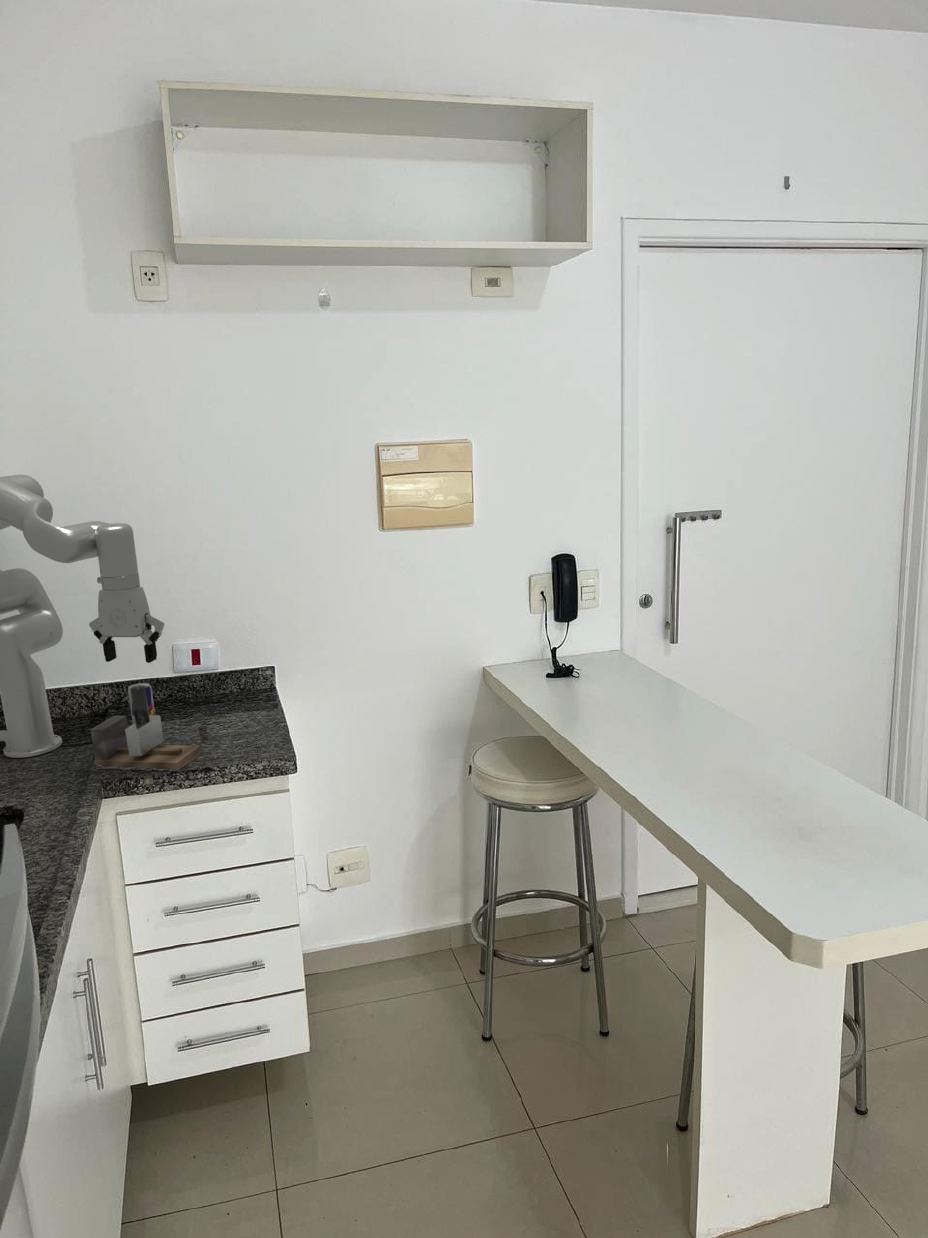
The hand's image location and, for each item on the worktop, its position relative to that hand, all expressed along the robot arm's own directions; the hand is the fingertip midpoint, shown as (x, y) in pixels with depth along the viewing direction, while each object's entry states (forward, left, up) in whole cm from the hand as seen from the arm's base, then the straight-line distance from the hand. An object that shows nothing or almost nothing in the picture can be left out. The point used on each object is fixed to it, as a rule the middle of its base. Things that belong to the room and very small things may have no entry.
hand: (131, 660), depth 202 cm
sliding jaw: (+1, 0, -20) cm, 20 cm away
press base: (+1, 0, -23) cm, 23 cm away
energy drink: (-10, +17, -23) cm, 31 cm away
